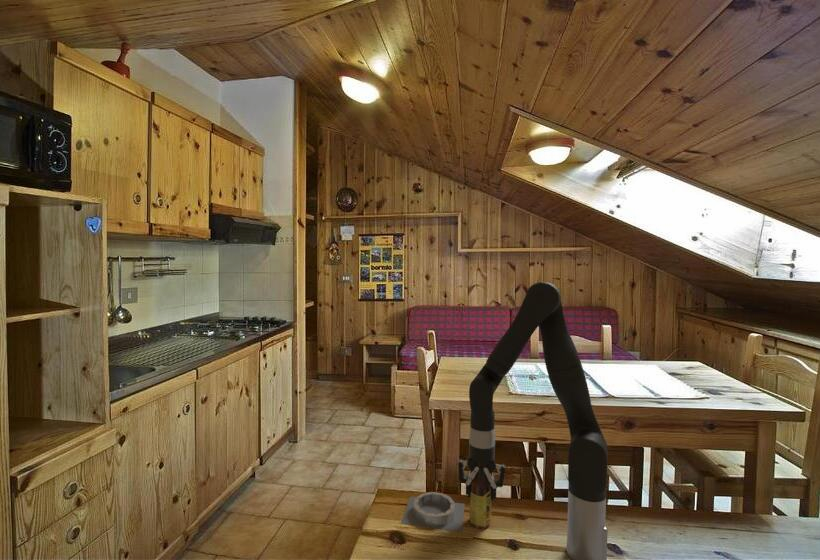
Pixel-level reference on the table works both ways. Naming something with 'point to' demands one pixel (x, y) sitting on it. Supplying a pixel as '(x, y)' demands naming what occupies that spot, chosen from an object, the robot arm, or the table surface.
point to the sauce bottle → (480, 500)
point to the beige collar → (431, 518)
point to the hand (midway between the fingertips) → (480, 497)
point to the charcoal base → (435, 509)
